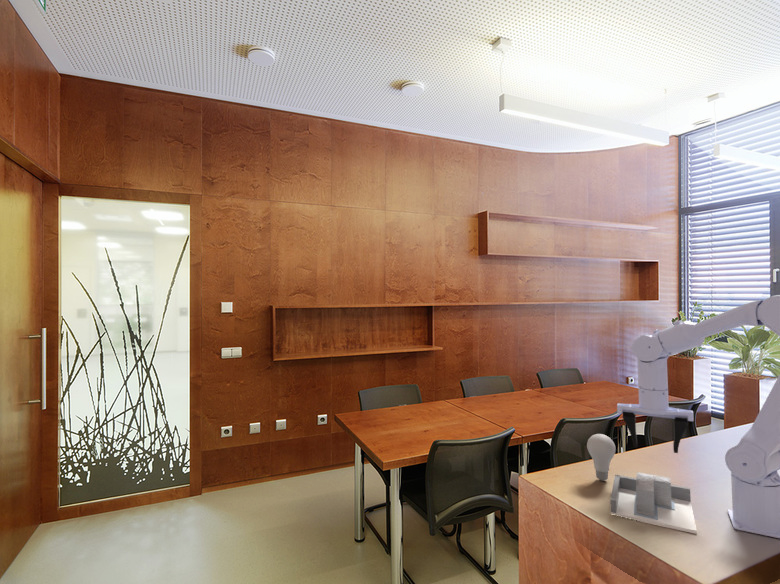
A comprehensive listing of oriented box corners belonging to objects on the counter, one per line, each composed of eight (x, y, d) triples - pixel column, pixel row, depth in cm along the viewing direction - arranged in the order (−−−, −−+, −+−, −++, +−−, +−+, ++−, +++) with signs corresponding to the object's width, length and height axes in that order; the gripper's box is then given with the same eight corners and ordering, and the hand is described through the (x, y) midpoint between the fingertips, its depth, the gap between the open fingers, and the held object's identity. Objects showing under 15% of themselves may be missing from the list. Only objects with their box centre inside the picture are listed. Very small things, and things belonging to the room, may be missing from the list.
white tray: (690, 502, 89) (689, 487, 89) (696, 534, 77) (696, 517, 77) (615, 488, 96) (615, 474, 96) (610, 515, 84) (610, 499, 84)
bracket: (673, 521, 80) (672, 495, 80) (636, 513, 83) (635, 488, 83) (671, 502, 87) (670, 477, 88) (637, 495, 91) (636, 472, 91)
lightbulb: (582, 477, 102) (580, 432, 102) (601, 473, 104) (599, 429, 104) (603, 488, 96) (601, 439, 97) (622, 483, 98) (621, 436, 99)
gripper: (690, 387, 95) (692, 448, 94) (617, 382, 102) (619, 438, 102) (693, 393, 89) (696, 458, 88) (615, 387, 96) (617, 447, 96)
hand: (655, 448), depth 95 cm, fingers open, 7 cm apart
